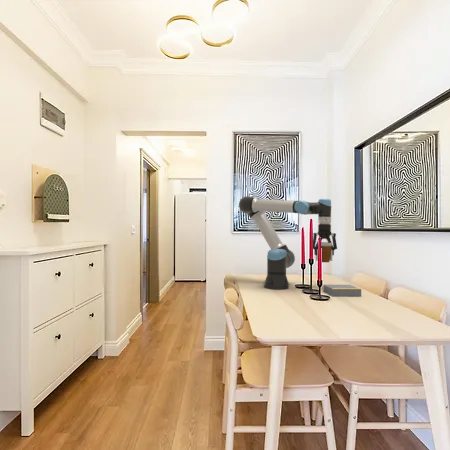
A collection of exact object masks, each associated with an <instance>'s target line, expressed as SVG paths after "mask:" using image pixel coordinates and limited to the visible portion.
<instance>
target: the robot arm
mask: <svg viewBox="0 0 450 450" xmlns="http://www.w3.org/2000/svg"><path fill="white" fill-rule="evenodd" d="M238 208H239V210H240V211H241V212H242V213H244V214H247V215H248V216H249V218H250V221H251V220H253V221H254V222H255V224H256V226H257V227H258V229H259V231H260V233H261V235H262V236H263V238H264V240H265V242H266V243H267V245H268V247H269V248H270V249H269V250H268V251H267V255H266V257H267V258H266V259H267V260H266V261H267V263H266V264H267V265H266V268H267V271H266V272H267V273H266V277H265V280H264V284H263V285H264V288H266V289H269V290H272V289H273V290H287V289H289V288H290V283H289V280H288V277H287V269H288V268H290V267H292V266H293V265H294V264H295V260H296V256H295V253H294V252H293V251H292V250H290V249H289V247H288V246H287V244H286V243H284V242H282V240H281V239H280V237H279V235H278V234H277V232H276V230H275V229H274V226H273V225H272V224H271V222H270V220H269V218H268V217H267V214H266V212H270V213H286V214H287V213H291V214H300V215H318V220H317V223H318V224H317V227H318V229H317V232H313V233H312V235H313V236H312V237H313V238H312V242H313V249H312V250H313V252H314V255H315V261H317V262H319V261H318V250H317V249H318V243H317V242H318V240H319V237H321V241H322V240H326V242H328V243H332V247H331V254H330V261H331V262H332V261H333V256H335V255H334V254H335V250H338V246H337V238H336V237H337V234H336V233H333V232H332V231H331V230H332V200H331V199H330V198H319V199H318V201H317V202H308V201H305V200H284V199H283V200H282V199H265V198H264V199H260V198H258V197H255V196H254V197H253V196H248V195H247V196H242V198H241V199H240V200H239V201H238ZM317 237H318V239H317ZM331 239H332V241H331ZM330 261H329V262H330Z"/></svg>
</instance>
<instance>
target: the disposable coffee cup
mask: <svg viewBox="0 0 450 450" xmlns="http://www.w3.org/2000/svg"><path fill="white" fill-rule="evenodd" d="M317 243H318V242H317V241H316V244H317ZM332 245H333V242H332V243H328V241H326V242H325V241H321V248H322V262H321V263H330V254H331V247H332ZM317 250H318V249H317Z"/></svg>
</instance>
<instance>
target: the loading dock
mask: <svg viewBox="0 0 450 450" xmlns="http://www.w3.org/2000/svg"><path fill="white" fill-rule="evenodd" d="M322 286H323V288H322V289H323V293H326V294H328V295H330V296H331V297H362V288H360V287H357V286H355V285H352V284H323V285H322Z"/></svg>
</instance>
